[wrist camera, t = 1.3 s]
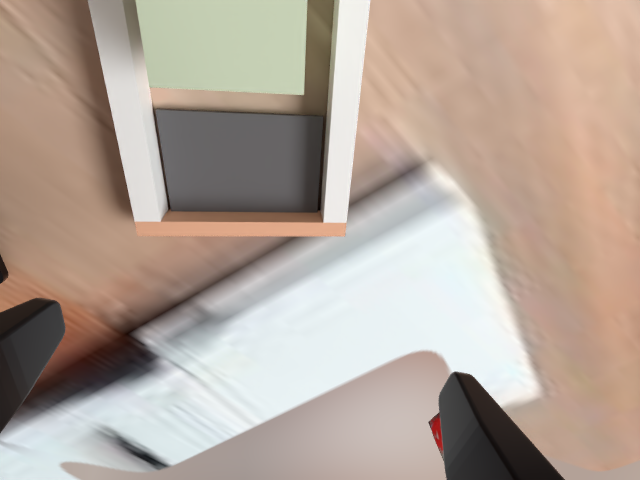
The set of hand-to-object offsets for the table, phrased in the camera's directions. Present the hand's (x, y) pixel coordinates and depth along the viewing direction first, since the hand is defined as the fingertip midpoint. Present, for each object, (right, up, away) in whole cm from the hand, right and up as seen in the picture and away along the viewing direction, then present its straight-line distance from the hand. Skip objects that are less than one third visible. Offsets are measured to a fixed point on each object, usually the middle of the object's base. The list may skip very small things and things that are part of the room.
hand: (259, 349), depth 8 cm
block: (-2, +12, +7) cm, 14 cm away
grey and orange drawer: (-2, +6, +10) cm, 12 cm away
